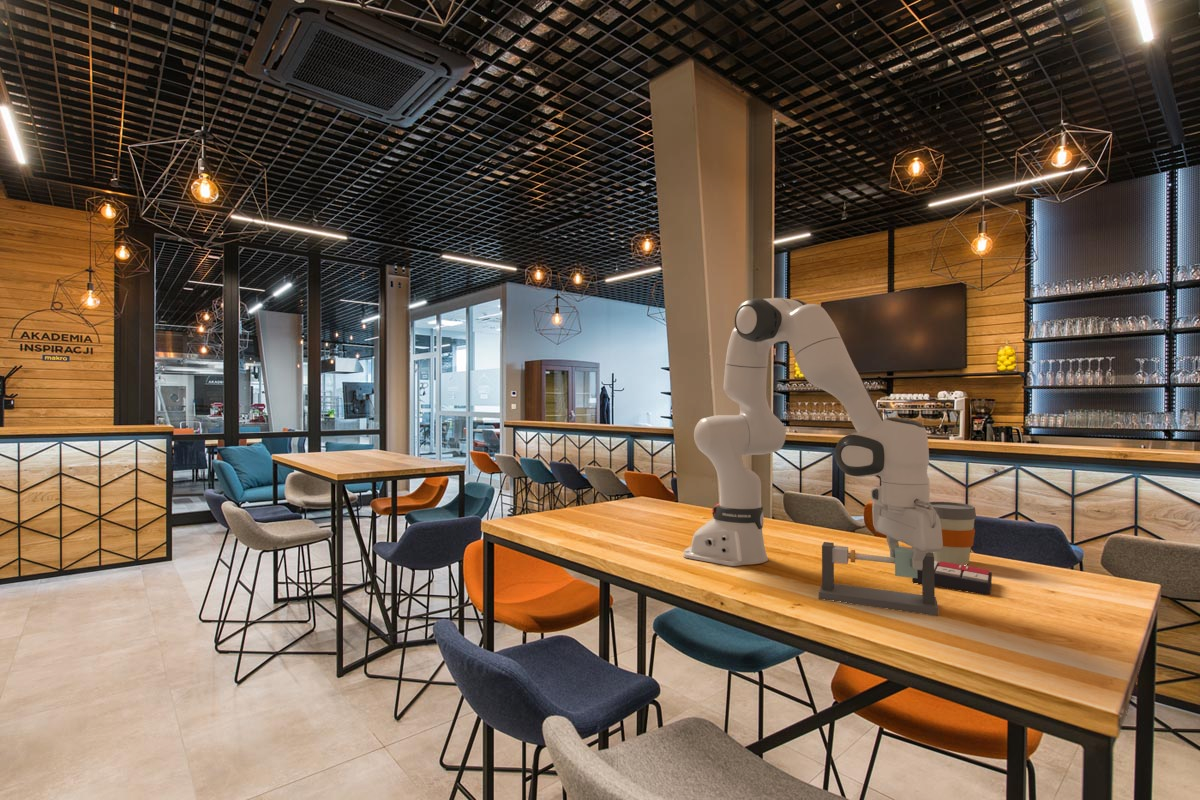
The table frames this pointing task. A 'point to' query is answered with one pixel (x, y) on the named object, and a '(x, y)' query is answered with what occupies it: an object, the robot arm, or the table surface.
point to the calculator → (959, 577)
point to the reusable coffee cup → (955, 531)
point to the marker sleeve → (904, 562)
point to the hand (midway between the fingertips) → (905, 563)
